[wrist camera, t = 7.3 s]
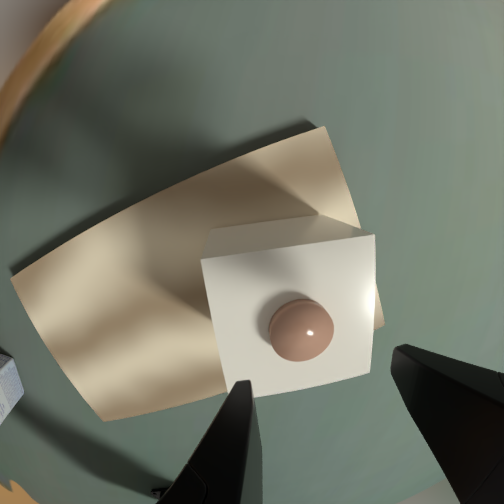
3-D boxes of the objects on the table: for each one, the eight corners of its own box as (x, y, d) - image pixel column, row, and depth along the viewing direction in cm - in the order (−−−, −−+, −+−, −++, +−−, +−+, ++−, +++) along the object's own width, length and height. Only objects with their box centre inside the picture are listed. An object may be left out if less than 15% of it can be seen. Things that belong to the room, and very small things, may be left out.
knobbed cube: (322, 214, 17) (382, 237, 10) (327, 314, 18) (374, 379, 11) (210, 229, 16) (199, 264, 9) (228, 331, 18) (230, 409, 11)
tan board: (378, 318, 20) (409, 348, 16) (106, 414, 20) (92, 449, 16) (319, 128, 17) (347, 113, 12) (17, 274, 17) (-18, 294, 13)
